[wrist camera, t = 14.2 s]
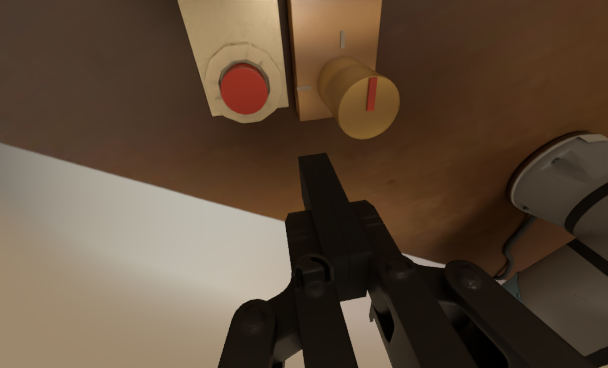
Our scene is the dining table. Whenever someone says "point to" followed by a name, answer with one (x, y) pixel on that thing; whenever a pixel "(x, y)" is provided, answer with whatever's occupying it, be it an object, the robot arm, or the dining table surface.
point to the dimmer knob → (358, 97)
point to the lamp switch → (244, 89)
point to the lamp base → (236, 48)
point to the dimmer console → (328, 44)
